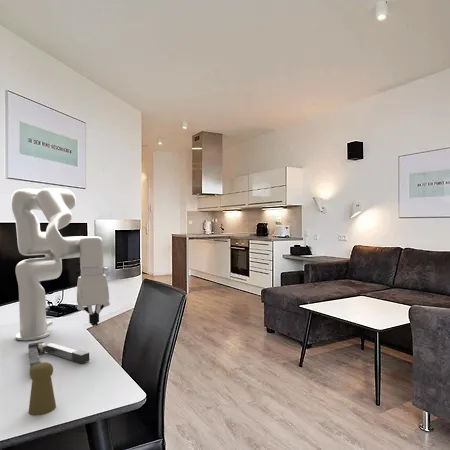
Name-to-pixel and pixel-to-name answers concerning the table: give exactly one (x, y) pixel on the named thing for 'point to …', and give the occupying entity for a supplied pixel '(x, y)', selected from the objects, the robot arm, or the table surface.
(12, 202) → the robot arm
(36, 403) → the cork
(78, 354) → the tong arm
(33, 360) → the tong base
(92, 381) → the table surface
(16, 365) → the table surface
